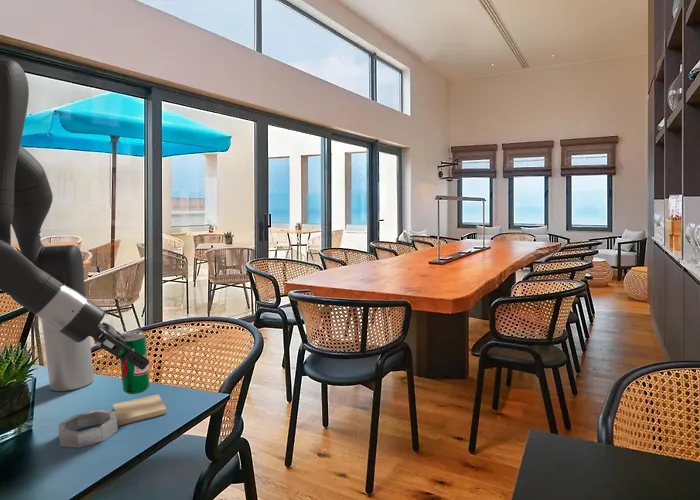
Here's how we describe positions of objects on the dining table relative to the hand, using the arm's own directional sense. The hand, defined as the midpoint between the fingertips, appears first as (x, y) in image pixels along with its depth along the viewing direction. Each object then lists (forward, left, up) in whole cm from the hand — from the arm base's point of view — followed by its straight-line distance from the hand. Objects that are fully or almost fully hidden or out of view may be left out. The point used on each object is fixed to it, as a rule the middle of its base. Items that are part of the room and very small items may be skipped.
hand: (143, 361), depth 102 cm
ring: (+5, -11, -10) cm, 16 cm away
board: (0, -2, -10) cm, 10 cm away
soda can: (0, -2, -6) cm, 6 cm away
